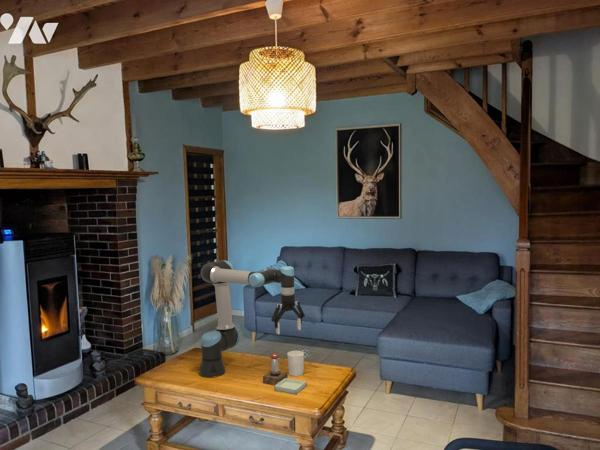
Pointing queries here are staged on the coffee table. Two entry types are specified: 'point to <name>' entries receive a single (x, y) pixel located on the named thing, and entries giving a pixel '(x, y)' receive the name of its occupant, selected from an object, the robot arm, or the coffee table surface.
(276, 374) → the pin
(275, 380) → the socket block
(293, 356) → the candle holder
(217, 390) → the coffee table surface
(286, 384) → the tray
